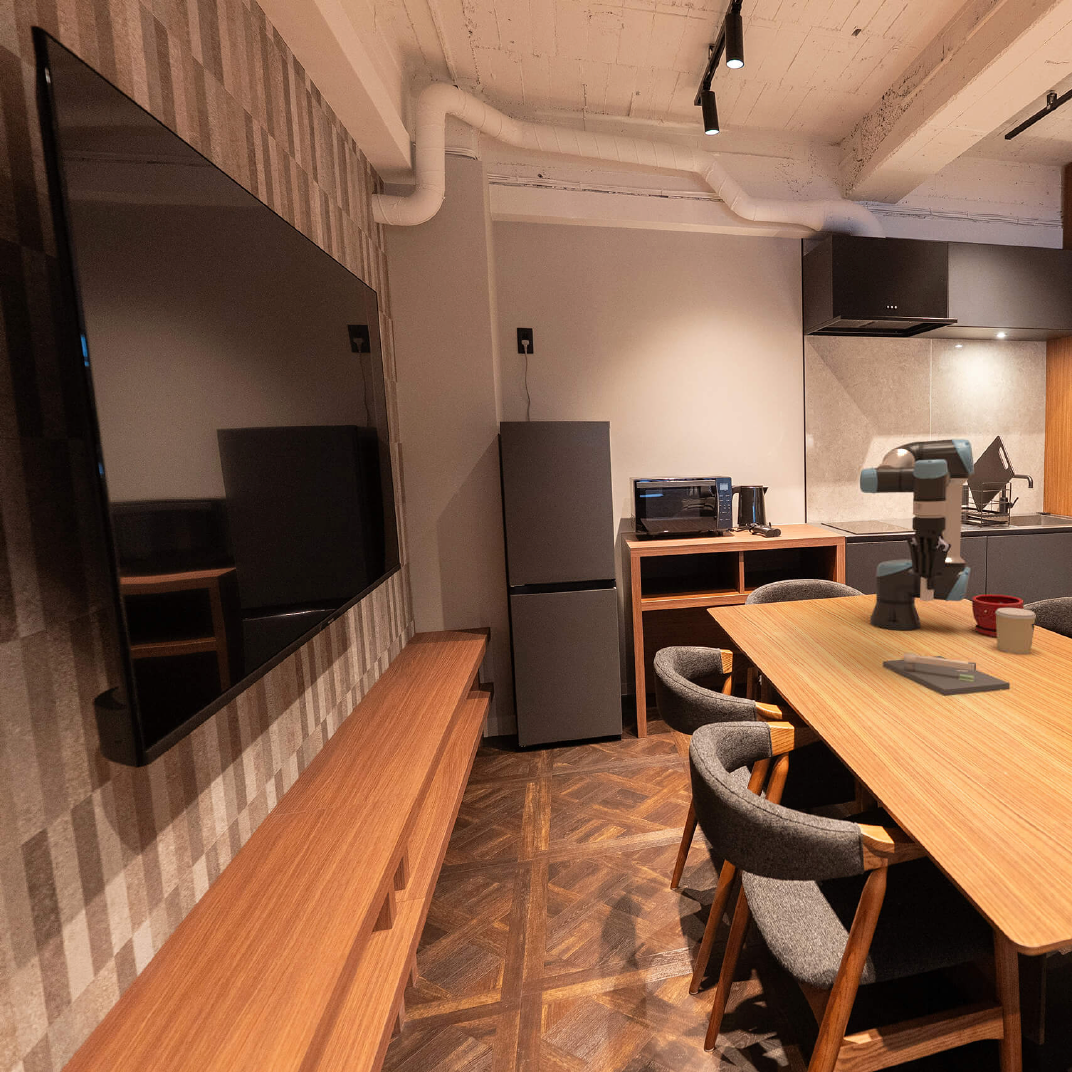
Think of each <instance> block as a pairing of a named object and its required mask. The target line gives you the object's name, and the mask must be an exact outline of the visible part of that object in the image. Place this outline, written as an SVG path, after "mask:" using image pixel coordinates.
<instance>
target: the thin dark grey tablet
mask: <svg viewBox="0 0 1072 1072" xmlns="http://www.w3.org/2000/svg"><path fill="white" fill-rule="evenodd" d="M932 657H936V658H944V659H948V658H947V657H944V656H941V655H936V656H932ZM882 667H884V668H885V669H888V670H889V671H892V672H894V673H896V674H898V675H900V676H902V677H904V678H907V679H909V680H911V681H913V682H915V683H918V684H920V685H922V686H924V687H925V688H928V689H930V690H933V691H935V692H937V693H938V694H940V695H943V696H951V695H960V694H961V695H963V694H971V693H981V692H982V691H983V692H989V691H990V692H991V691H1001V690H1000V689H1003V690H1009V689H1010V686H1011V685H1010V684H1011V683H1010V682H1008V681H1005V680H1003V679H1000V678H998V677H995V676H993V675H989V674H988V673H985V672H982V671H980V670H977V669H976V670H968V669H960V668H953V667H946V666H939V665H932V664H924V663H909V662H905V661H904V658H903V659H894V660H883V661H882Z"/></svg>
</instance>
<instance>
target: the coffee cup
mask: <svg viewBox="0 0 1072 1072" xmlns="http://www.w3.org/2000/svg"><path fill="white" fill-rule="evenodd" d="M995 613H996V628H997V637H996V640H997V641H996V644H997V645H996V646H997V649H998V650H999V649H1000V651H1001V652H1004V651H1005V652H1004V653H1008V652H1010V654H1018V655H1028V654H1030V653H1031V650H1032V645H1033V637H1034V630H1035V621H1036V617H1037V615H1036V613H1035V612H1034V611H1032V610H1030V609H1024V608H1023V609H1018V608H999V609H997V611H996V612H995Z"/></svg>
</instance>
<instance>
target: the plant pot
mask: <svg viewBox="0 0 1072 1072" xmlns="http://www.w3.org/2000/svg"><path fill="white" fill-rule="evenodd" d="M971 598H972V599H971V608H972V614H973V618H974V621H975V622H976V624H975V627H974V628H975V630H976V631H977V632H978V633H980V634H983V635H986V636H990V637H996V638H997V628H996V613H995V612H996V611H997V609H999V608H1018V609H1024V600H1023V599H1021V598H1019V597H1016V596H1011V595H1004V594H980V595H976V596H973V597H971Z"/></svg>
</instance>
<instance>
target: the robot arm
mask: <svg viewBox="0 0 1072 1072" xmlns="http://www.w3.org/2000/svg"><path fill="white" fill-rule="evenodd" d="M972 449H973V448H972V443H971V442H970V441H969V440H967V439H964V438H963V439H957V438H955V439H954V438H952V439H941V440H939V439H937V440H930V441H928V440H927V441H912V442H908V443H906V444H902V445H900V446H896V447H895V448H892V449H891V450H890V451H888V452H887V453H886V454H885V455H884V457H883V459H882V462H881V463H880V464H879V465H878V466H877V467H869V468H863V469H862V470H861V471H860V474H859V487H860V491H861V492H862V493H864V494H865V493H866V494H889V493H890V494H891V493H893V494H894V493H895V494H897V493H903V494H905V493H912V494H913V498H912V515H913V516H914V517H912V530H913V531H915V532H914V535H913V537H912V538H908V539H907V540H906V542H907V545H908V546H909V547H908V548H909V552H910V558H911V559H908V558H905V559H892V560H886V561H882V562H880V563H879V564H878V565H877V567H876V574H875V577H876V596H875V597H876V601H875V605H874V608H873V611H872V613H871V615H870V621H869V622H871V623H870V624H871V625H872V624H873V625H872V626H874V627H877V626H878V627H877V628H880V627H882V629H884V630H885V629H886V630H892V629H893V631H913V630H918V629H919V628H921V619H920V617H919V616H920V615H919V613H918V610H917V608H916V603H915V602H916V599H919V600H920V601H922V602H931V601H934V600H938V601H945V602H961V601H962V600H964V599H965V597H966V593H967V588H968V586H969V585H968V584H969V580H970V573H971V568H970V567H969V566H966V561H965V560H964V559H963V558H962V557H961V538H962V537H961V533H962V507H963V486H964V484H965V483H966V482H967V481H968V480H969V477H970V476H969V475H974V474H975V465H974V464H975V463H974V456H973V450H972Z"/></svg>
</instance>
